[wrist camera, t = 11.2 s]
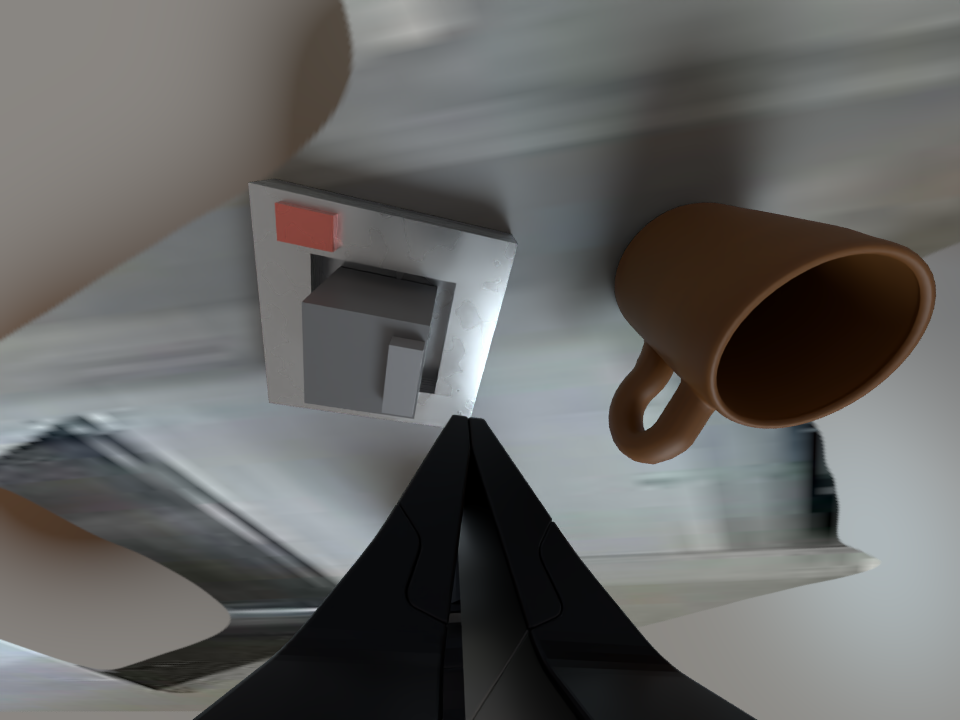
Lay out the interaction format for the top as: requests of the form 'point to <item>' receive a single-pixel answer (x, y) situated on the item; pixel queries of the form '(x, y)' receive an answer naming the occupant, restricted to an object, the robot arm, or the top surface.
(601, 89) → the top surface
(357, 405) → the plug
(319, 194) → the socket plate
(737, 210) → the mug
